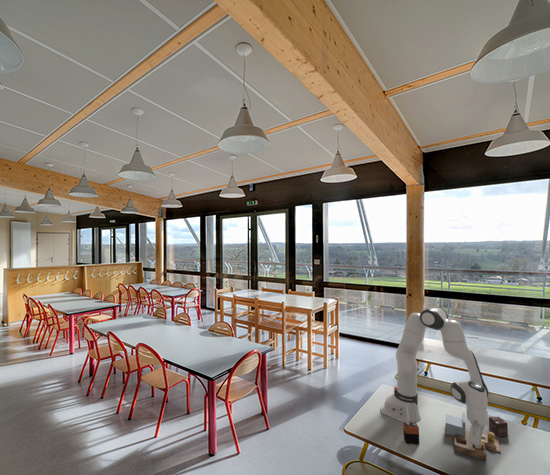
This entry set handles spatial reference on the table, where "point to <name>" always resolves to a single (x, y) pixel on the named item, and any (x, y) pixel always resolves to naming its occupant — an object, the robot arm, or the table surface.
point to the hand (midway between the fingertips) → (477, 444)
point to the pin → (479, 446)
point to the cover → (455, 425)
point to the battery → (411, 433)
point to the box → (498, 426)
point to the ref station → (484, 440)
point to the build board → (468, 447)
